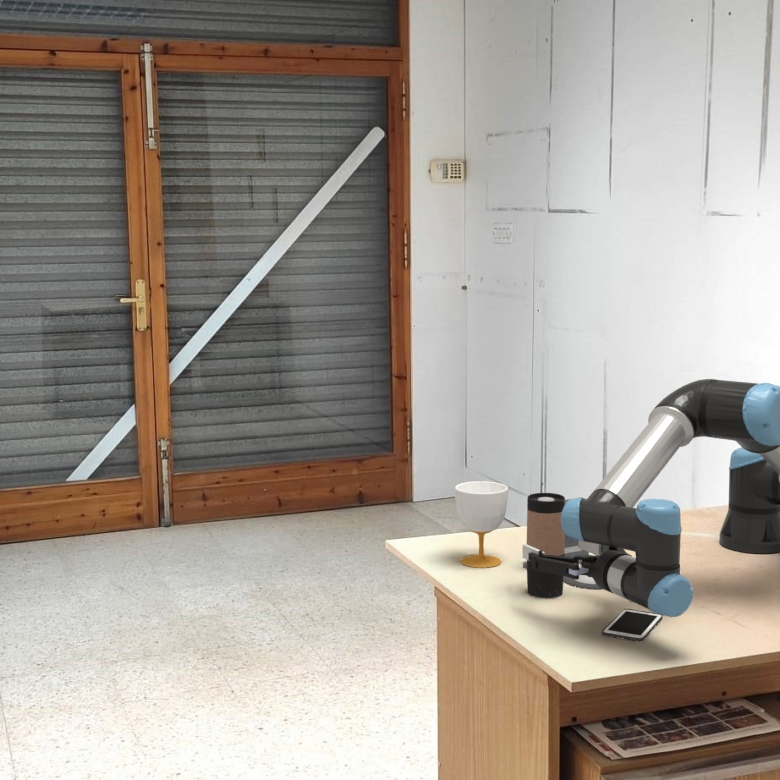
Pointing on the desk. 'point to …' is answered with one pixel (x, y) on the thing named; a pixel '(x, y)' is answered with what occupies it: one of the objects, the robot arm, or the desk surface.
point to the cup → (481, 514)
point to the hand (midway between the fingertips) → (552, 545)
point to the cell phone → (632, 625)
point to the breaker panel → (569, 547)
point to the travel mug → (545, 541)
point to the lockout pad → (582, 582)
